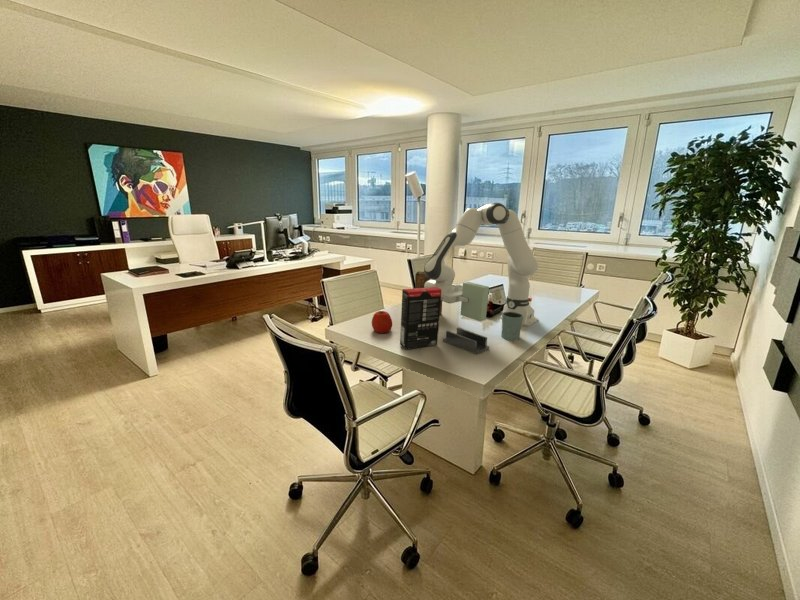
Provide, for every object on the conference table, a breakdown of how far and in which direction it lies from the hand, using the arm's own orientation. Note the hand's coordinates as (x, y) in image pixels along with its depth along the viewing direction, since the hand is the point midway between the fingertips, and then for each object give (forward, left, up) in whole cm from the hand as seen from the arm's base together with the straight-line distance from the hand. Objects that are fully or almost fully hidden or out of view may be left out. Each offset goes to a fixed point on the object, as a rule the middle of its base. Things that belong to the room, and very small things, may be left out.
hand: (471, 299), depth 162 cm
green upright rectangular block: (0, +2, -9) cm, 9 cm away
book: (-14, -42, -20) cm, 48 cm away
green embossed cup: (-19, +11, -20) cm, 30 cm away
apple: (+27, -35, -20) cm, 49 cm away
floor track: (+7, +4, -20) cm, 22 cm away
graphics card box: (+25, -9, -20) cm, 33 cm away
